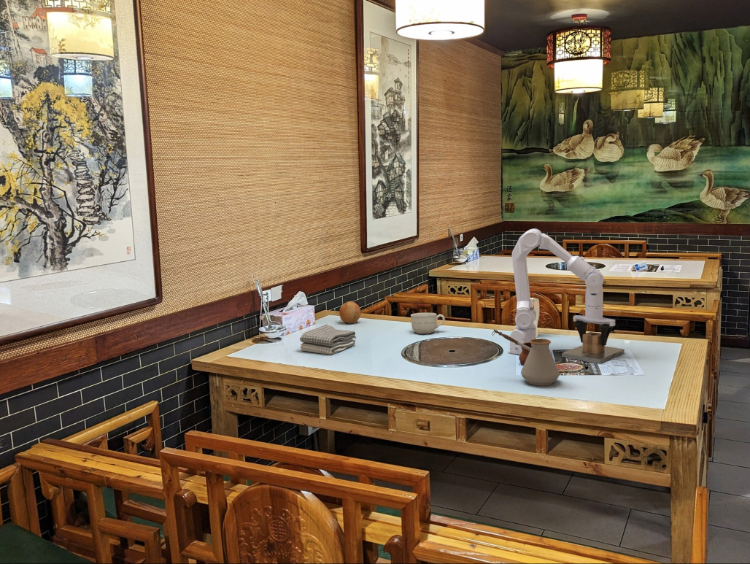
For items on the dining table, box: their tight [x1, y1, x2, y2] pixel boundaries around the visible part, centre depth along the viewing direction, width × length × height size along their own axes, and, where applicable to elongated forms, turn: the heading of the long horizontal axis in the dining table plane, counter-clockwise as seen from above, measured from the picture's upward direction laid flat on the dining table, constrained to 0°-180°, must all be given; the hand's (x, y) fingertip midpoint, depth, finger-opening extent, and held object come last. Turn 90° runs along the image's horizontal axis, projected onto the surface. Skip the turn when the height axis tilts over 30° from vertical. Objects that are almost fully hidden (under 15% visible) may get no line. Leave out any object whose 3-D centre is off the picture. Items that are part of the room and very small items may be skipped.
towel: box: [299, 324, 357, 355], centre depth 257 cm, size 15×18×8 cm
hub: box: [561, 344, 625, 365], centre depth 234 cm, size 18×14×6 cm
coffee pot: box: [491, 329, 560, 387], centre depth 207 cm, size 21×12×15 cm, turn 56°
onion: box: [338, 300, 362, 324], centre depth 303 cm, size 10×10×10 cm
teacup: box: [410, 312, 446, 335], centre depth 278 cm, size 14×11×8 cm
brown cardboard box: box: [582, 331, 606, 354], centre depth 234 cm, size 5×5×6 cm
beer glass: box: [530, 297, 540, 339], centre depth 265 cm, size 7×7×15 cm
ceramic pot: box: [518, 342, 560, 367], centre depth 225 cm, size 18×18×7 cm
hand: (593, 343), depth 234 cm, fingers open, 7 cm apart
